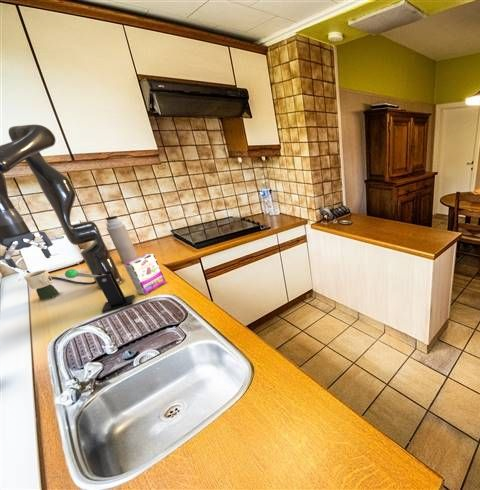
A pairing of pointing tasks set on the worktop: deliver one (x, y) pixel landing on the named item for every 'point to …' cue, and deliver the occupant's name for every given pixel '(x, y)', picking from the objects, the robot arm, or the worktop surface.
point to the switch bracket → (112, 292)
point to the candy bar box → (145, 273)
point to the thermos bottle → (121, 239)
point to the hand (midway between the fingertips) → (32, 262)
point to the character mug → (42, 284)
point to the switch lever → (79, 274)
